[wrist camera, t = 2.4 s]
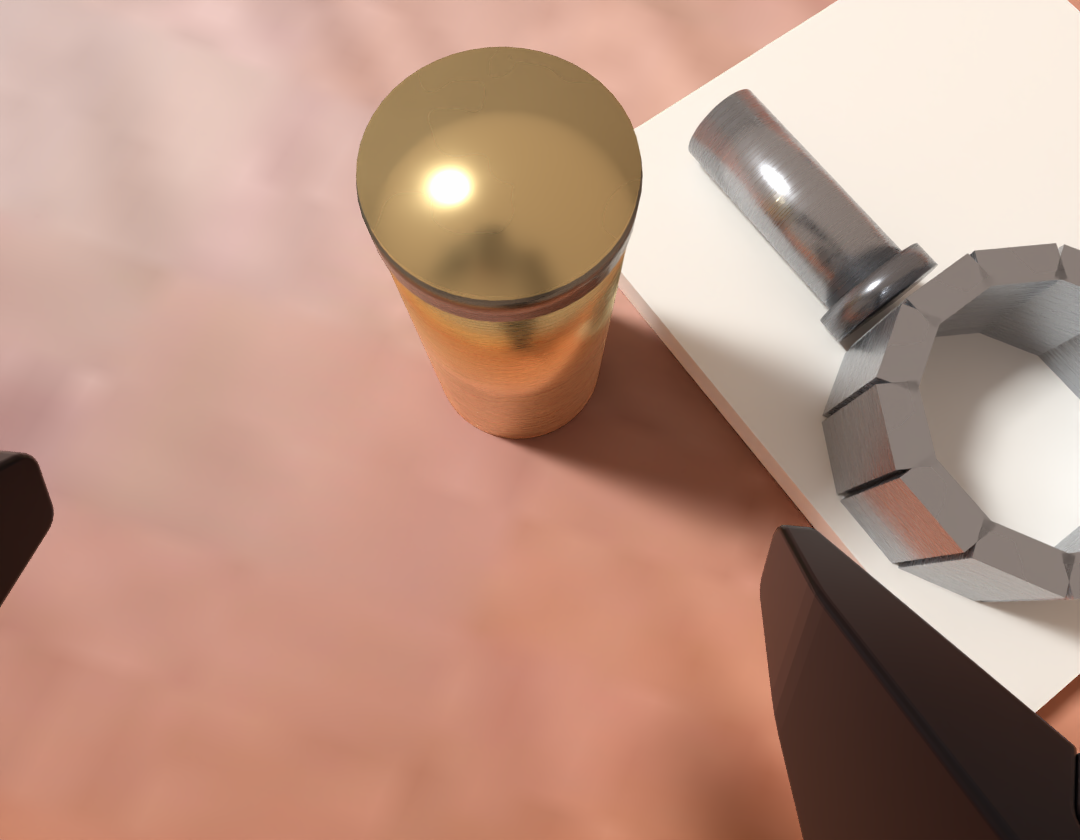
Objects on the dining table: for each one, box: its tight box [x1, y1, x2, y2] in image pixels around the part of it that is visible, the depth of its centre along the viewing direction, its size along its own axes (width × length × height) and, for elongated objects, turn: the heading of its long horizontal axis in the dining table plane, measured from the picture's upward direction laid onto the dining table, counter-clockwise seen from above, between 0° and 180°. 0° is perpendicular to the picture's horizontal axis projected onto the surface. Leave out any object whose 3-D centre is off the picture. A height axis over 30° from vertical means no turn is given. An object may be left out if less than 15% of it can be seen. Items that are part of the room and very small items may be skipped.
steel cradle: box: [688, 89, 1080, 602], centre depth 20 cm, size 16×16×4 cm
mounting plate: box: [618, 0, 1080, 713], centre depth 22 cm, size 20×18×1 cm
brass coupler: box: [356, 47, 643, 439], centre depth 17 cm, size 5×5×10 cm
